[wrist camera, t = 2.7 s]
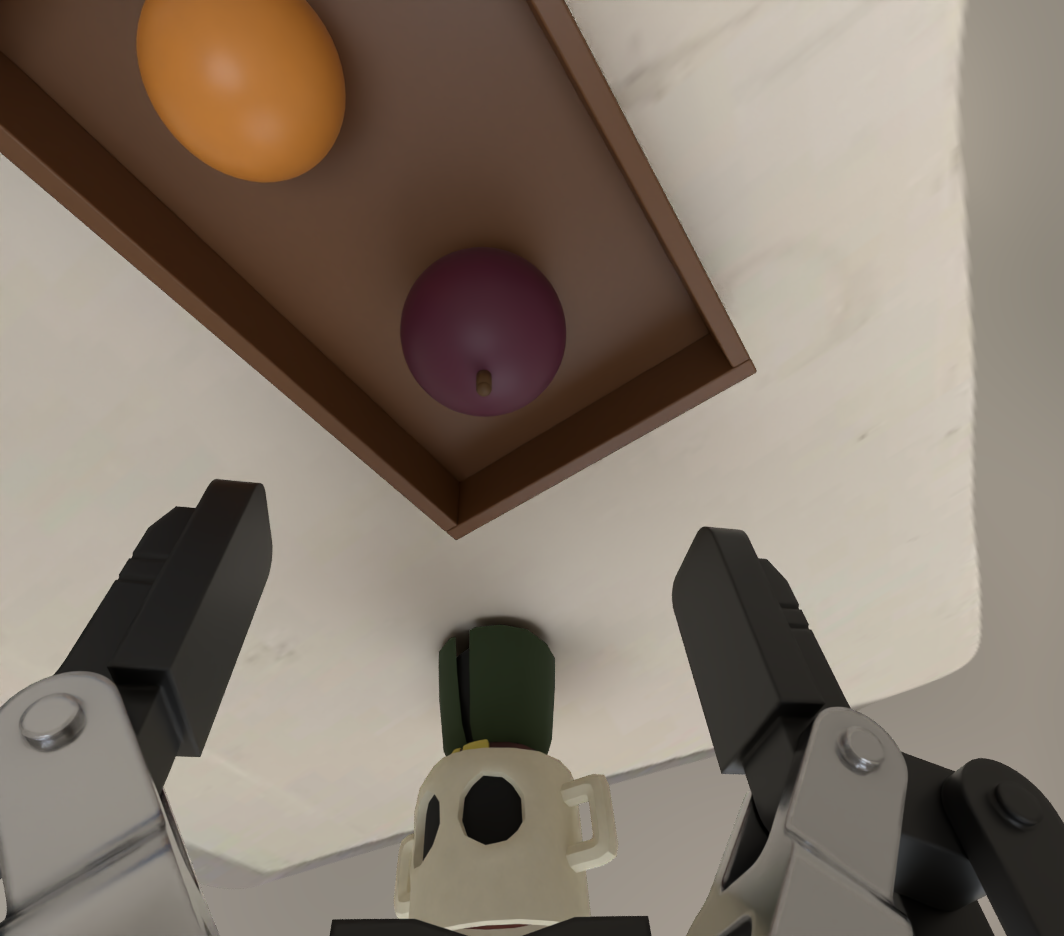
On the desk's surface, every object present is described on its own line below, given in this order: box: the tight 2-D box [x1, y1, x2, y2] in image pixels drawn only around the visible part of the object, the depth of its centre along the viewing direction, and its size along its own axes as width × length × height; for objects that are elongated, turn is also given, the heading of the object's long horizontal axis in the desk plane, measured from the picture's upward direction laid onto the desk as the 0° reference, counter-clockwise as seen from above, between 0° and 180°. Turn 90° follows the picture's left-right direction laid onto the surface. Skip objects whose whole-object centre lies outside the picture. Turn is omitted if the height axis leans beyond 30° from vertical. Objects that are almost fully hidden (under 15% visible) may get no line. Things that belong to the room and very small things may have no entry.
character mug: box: [394, 625, 618, 936], centre depth 28 cm, size 11×7×13 cm, turn 122°
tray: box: [0, 0, 756, 540], centre depth 17 cm, size 19×12×3 cm, turn 35°
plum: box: [400, 247, 566, 417], centre depth 17 cm, size 5×5×6 cm
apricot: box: [136, 0, 346, 183], centre depth 13 cm, size 4×4×4 cm
